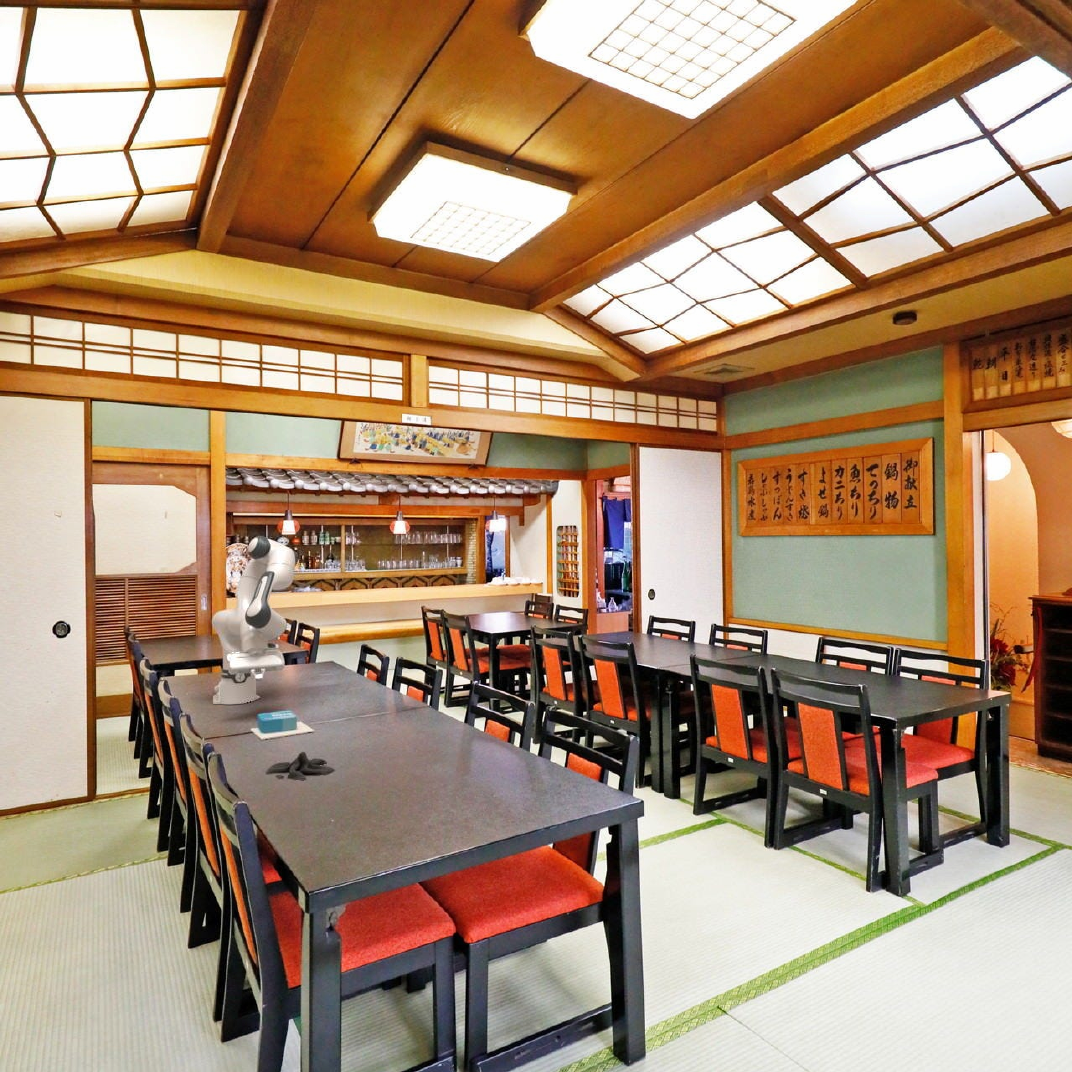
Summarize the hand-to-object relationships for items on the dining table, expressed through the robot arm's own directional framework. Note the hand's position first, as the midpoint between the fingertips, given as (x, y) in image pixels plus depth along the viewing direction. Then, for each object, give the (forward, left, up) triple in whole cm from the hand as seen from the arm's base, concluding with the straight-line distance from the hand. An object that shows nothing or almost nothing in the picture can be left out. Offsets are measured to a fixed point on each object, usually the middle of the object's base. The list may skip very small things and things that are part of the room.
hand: (258, 680), depth 264 cm
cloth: (+71, -5, -16) cm, 73 cm away
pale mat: (+22, +3, -15) cm, 27 cm away
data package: (+12, +3, -12) cm, 17 cm away
